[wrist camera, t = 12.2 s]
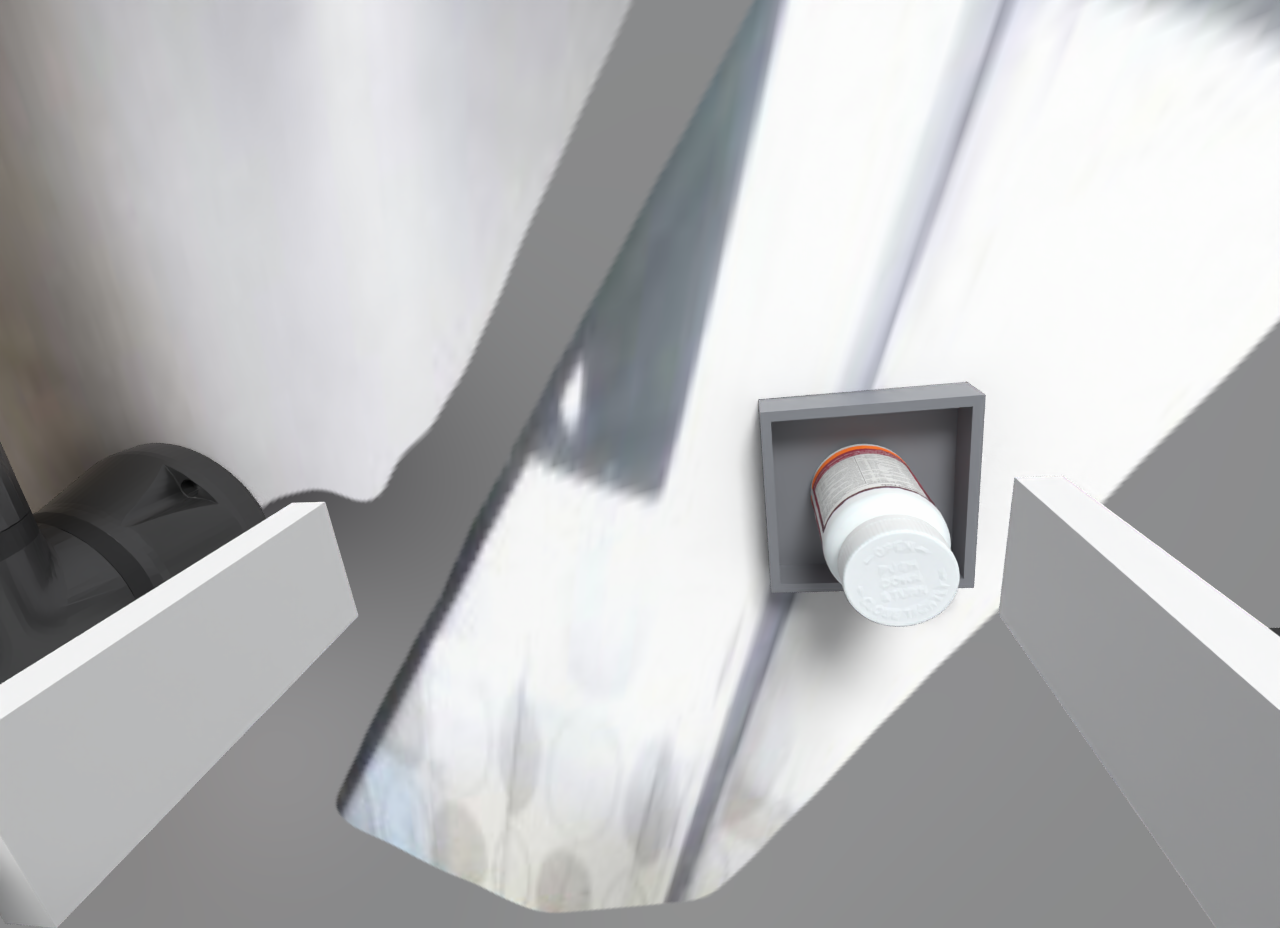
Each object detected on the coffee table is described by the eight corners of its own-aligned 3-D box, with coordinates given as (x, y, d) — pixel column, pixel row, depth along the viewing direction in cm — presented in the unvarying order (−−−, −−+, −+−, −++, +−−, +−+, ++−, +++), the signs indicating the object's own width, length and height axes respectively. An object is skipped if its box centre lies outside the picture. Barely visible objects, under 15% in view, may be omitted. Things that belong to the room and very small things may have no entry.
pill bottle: (900, 536, 40) (956, 646, 29) (802, 525, 40) (822, 629, 30) (921, 445, 37) (989, 529, 27) (816, 435, 38) (843, 513, 28)
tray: (769, 569, 43) (771, 592, 40) (758, 399, 39) (759, 412, 36) (958, 562, 40) (973, 587, 38) (967, 382, 36) (985, 394, 34)
